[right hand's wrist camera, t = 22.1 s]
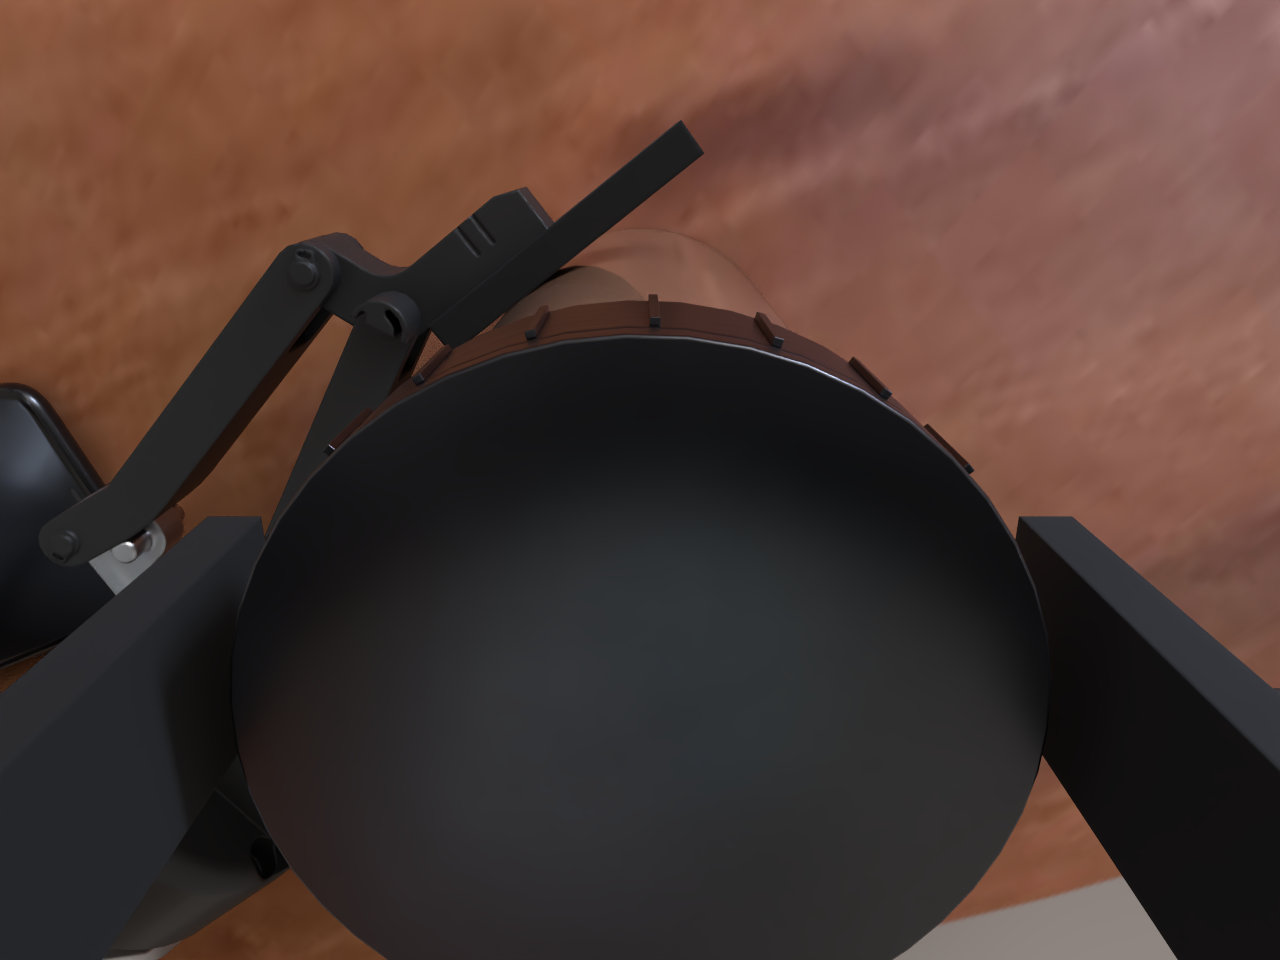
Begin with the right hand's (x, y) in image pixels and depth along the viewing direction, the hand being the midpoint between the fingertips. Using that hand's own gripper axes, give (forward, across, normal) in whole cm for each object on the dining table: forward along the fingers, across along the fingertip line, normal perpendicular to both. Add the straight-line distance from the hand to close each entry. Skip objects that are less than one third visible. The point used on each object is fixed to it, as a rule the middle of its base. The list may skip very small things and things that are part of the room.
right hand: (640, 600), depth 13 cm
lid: (-3, 0, 0) cm, 3 cm away
